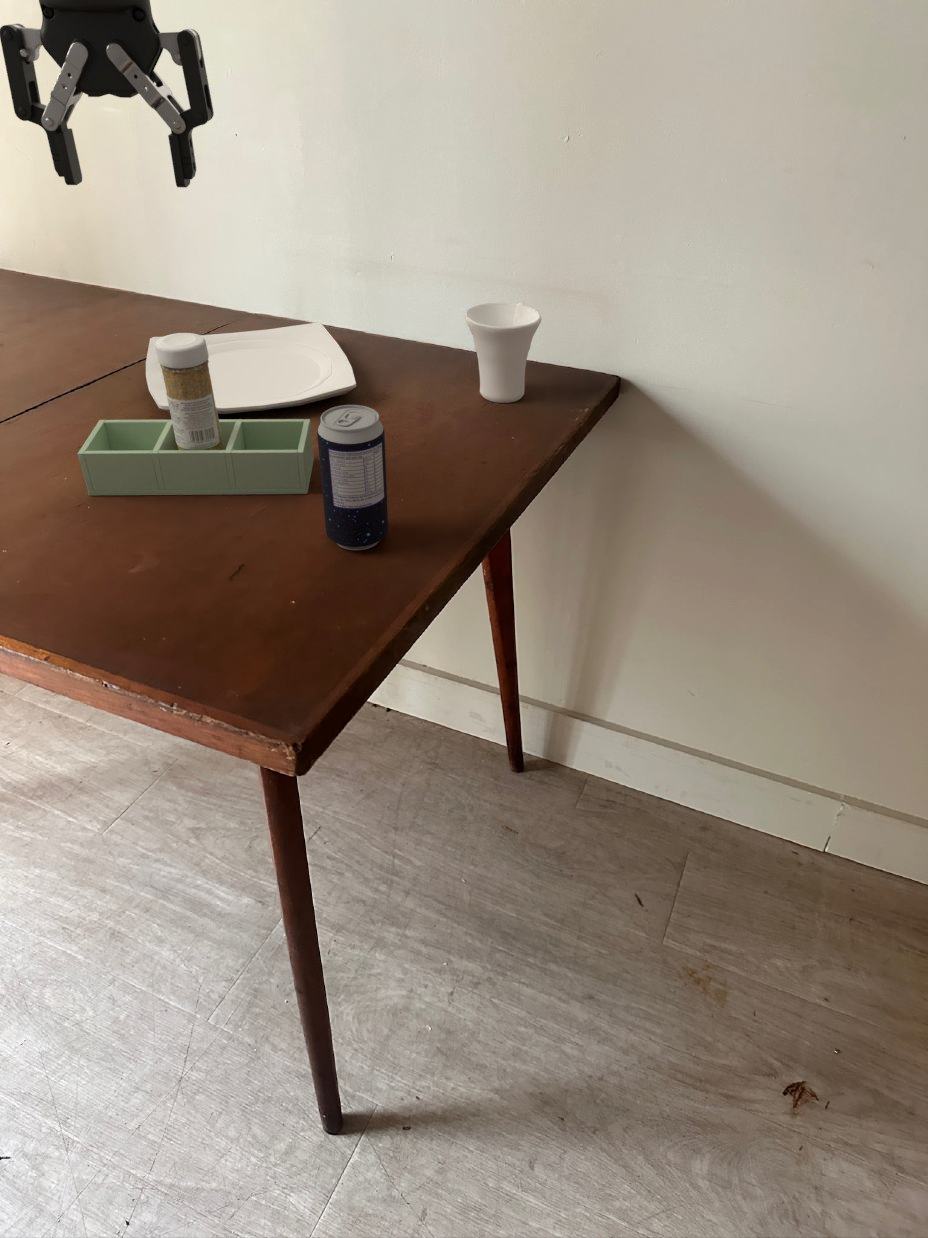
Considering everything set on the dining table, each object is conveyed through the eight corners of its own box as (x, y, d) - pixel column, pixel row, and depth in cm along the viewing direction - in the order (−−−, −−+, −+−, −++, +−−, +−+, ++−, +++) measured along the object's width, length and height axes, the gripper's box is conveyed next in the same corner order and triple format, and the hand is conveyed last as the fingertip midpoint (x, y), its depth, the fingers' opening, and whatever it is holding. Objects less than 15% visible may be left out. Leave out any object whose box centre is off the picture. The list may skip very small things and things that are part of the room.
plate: (328, 337, 120) (326, 318, 119) (369, 408, 102) (368, 387, 100) (144, 355, 114) (140, 334, 112) (153, 434, 96) (148, 411, 94)
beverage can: (399, 530, 81) (395, 410, 73) (369, 561, 77) (362, 436, 69) (347, 516, 83) (338, 397, 75) (314, 545, 79) (302, 422, 71)
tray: (89, 495, 85) (77, 453, 82) (109, 460, 91) (99, 419, 88) (307, 494, 86) (303, 452, 83) (314, 459, 92) (310, 418, 89)
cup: (550, 390, 108) (557, 309, 101) (509, 415, 102) (513, 330, 95) (492, 372, 112) (495, 293, 105) (448, 395, 106) (449, 313, 99)
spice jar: (227, 458, 90) (205, 329, 82) (227, 478, 86) (205, 346, 78) (181, 461, 89) (155, 332, 81) (179, 483, 86) (152, 349, 77)
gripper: (-50, -83, 56) (21, 192, 66) (174, -75, 57) (211, 195, 66) (-6, -77, 62) (53, 174, 72) (196, -71, 63) (227, 177, 72)
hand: (129, 184), depth 69 cm, fingers open, 8 cm apart
